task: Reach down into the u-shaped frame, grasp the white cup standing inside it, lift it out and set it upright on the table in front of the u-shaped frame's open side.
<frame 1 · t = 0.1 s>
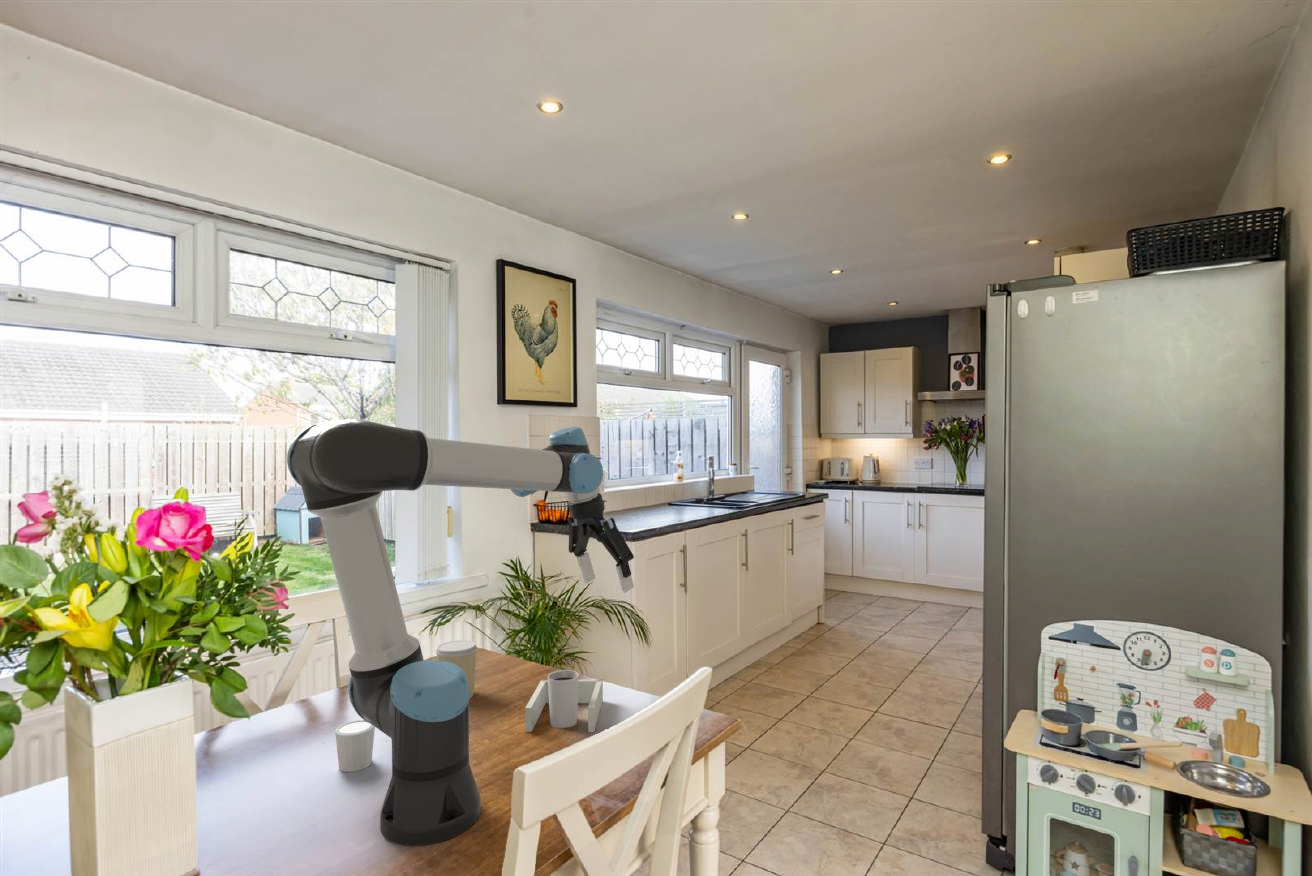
hand: (608, 585, 150), 28 cm above the table, fingers open, 13 cm apart
white cup: (563, 723, 143), on the table
white tapered cup: (355, 765, 125), on the table
coffee cup: (456, 697, 159), on the table
u-shaped frame: (566, 715, 146), on the table
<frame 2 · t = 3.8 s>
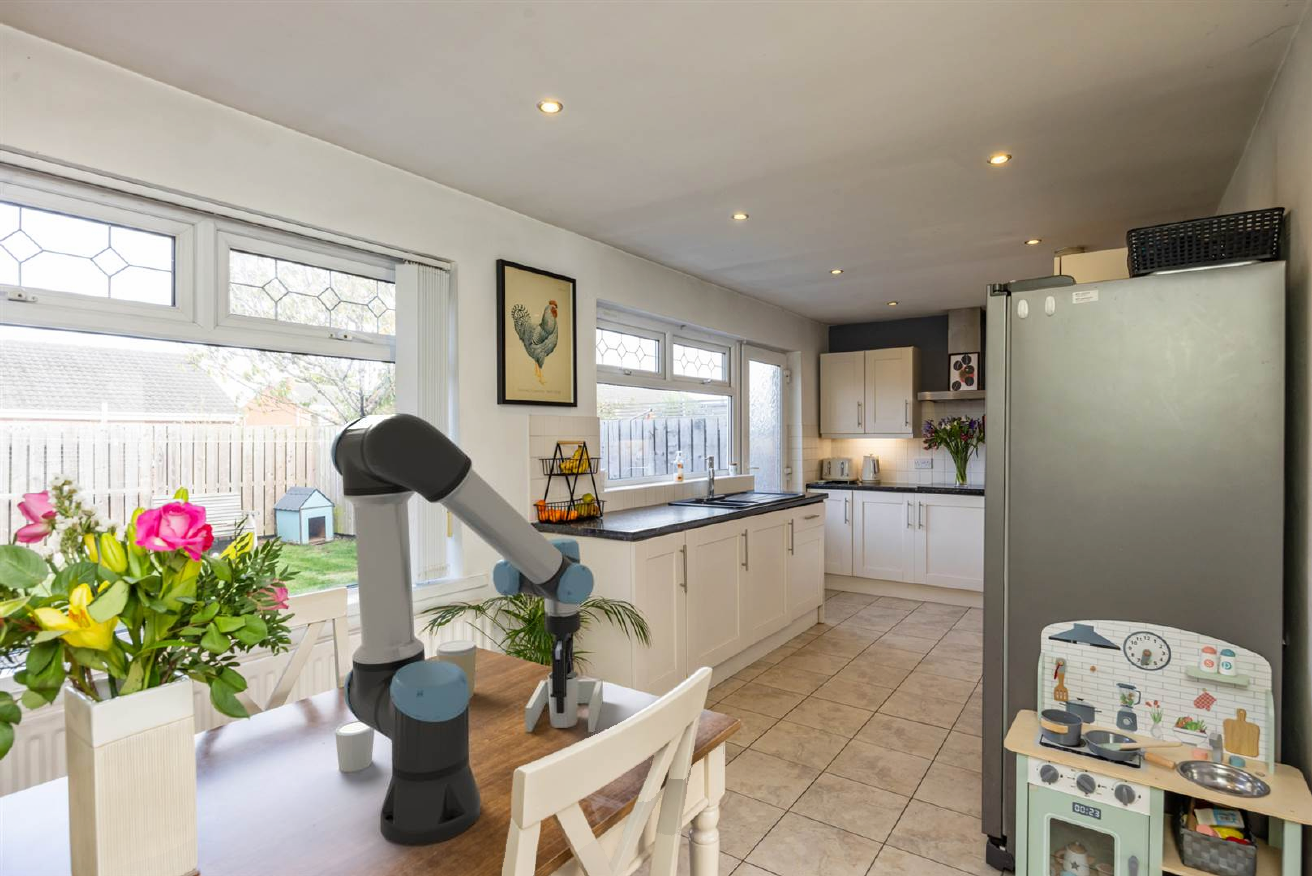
hand: (563, 720, 143), 0 cm above the table, fingers closed on white cup, 6 cm apart
white cup: (563, 723, 143), on the table, touching gripper
everything else where it was.
when the fingers open (2 cm above the table, at t = 9.4 s): white cup drops 1 cm, on the table.
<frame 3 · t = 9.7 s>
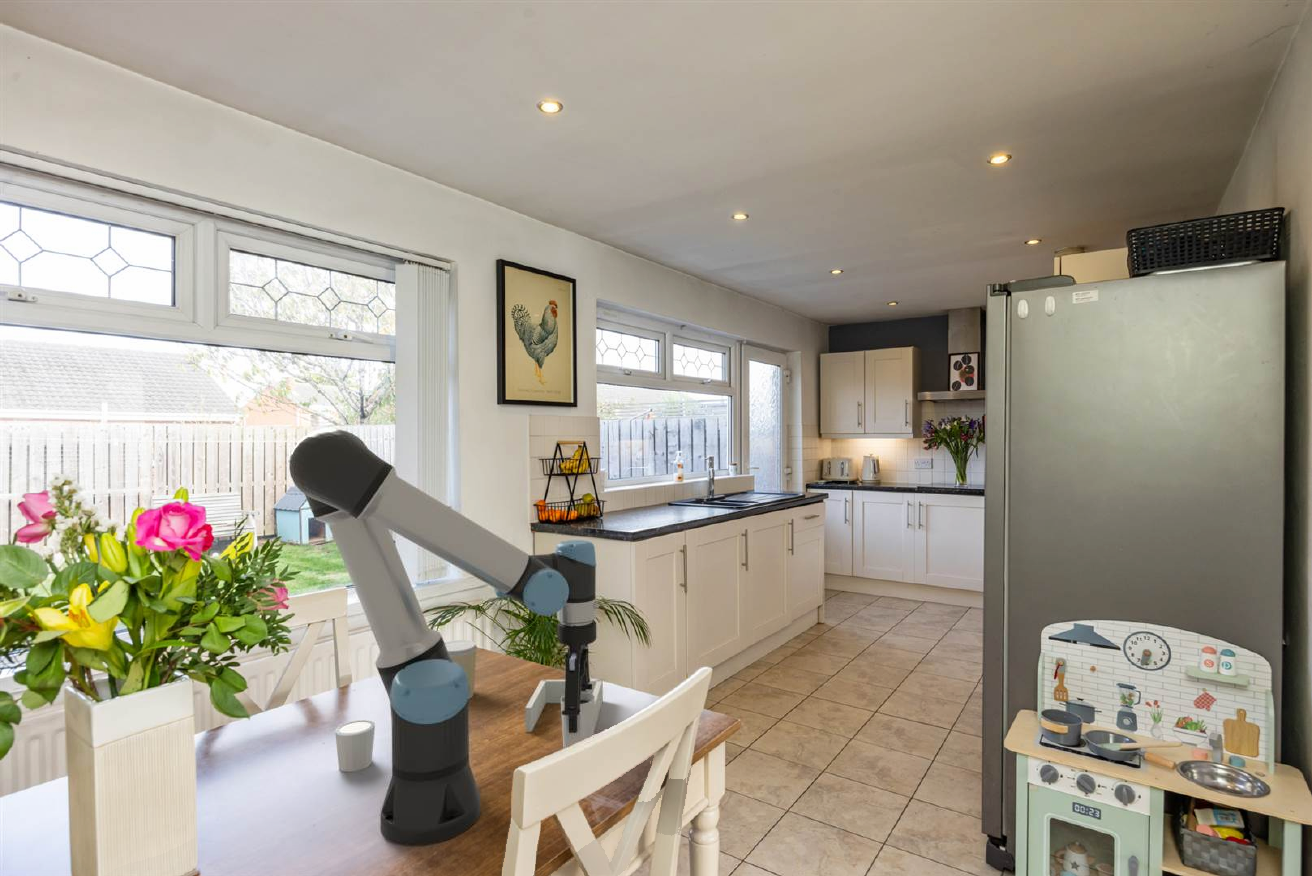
hand: (578, 735, 130), 3 cm above the table, fingers open, 10 cm apart
white cup: (578, 751, 130), on the table
everything else where it was.
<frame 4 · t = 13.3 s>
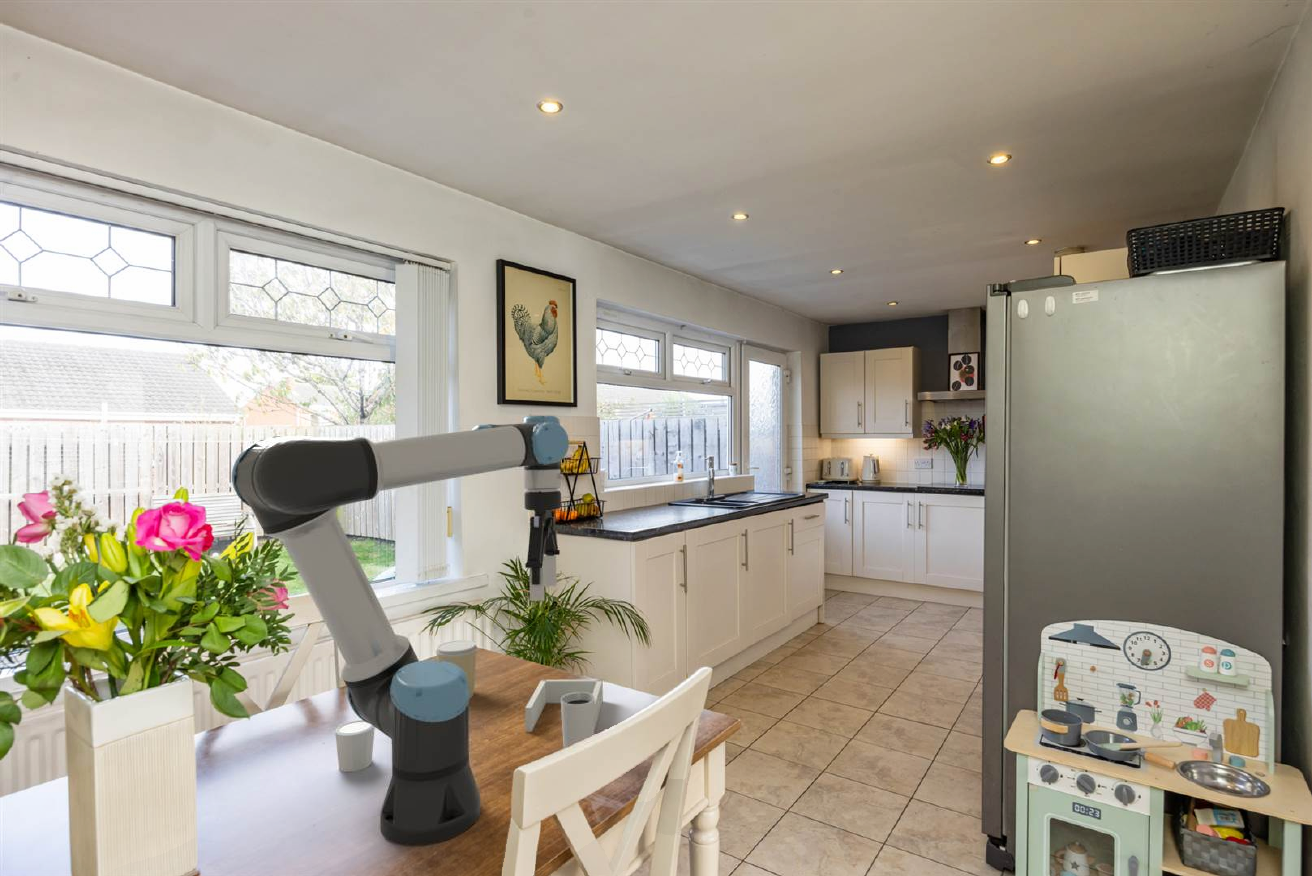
hand: (543, 593, 139), 29 cm above the table, fingers open, 13 cm apart
nothing on the table moved.
at the end: white cup inside the target area (0.0 cm from its centre), on the table; white cup tilted 0°; the gripper is holding nothing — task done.
